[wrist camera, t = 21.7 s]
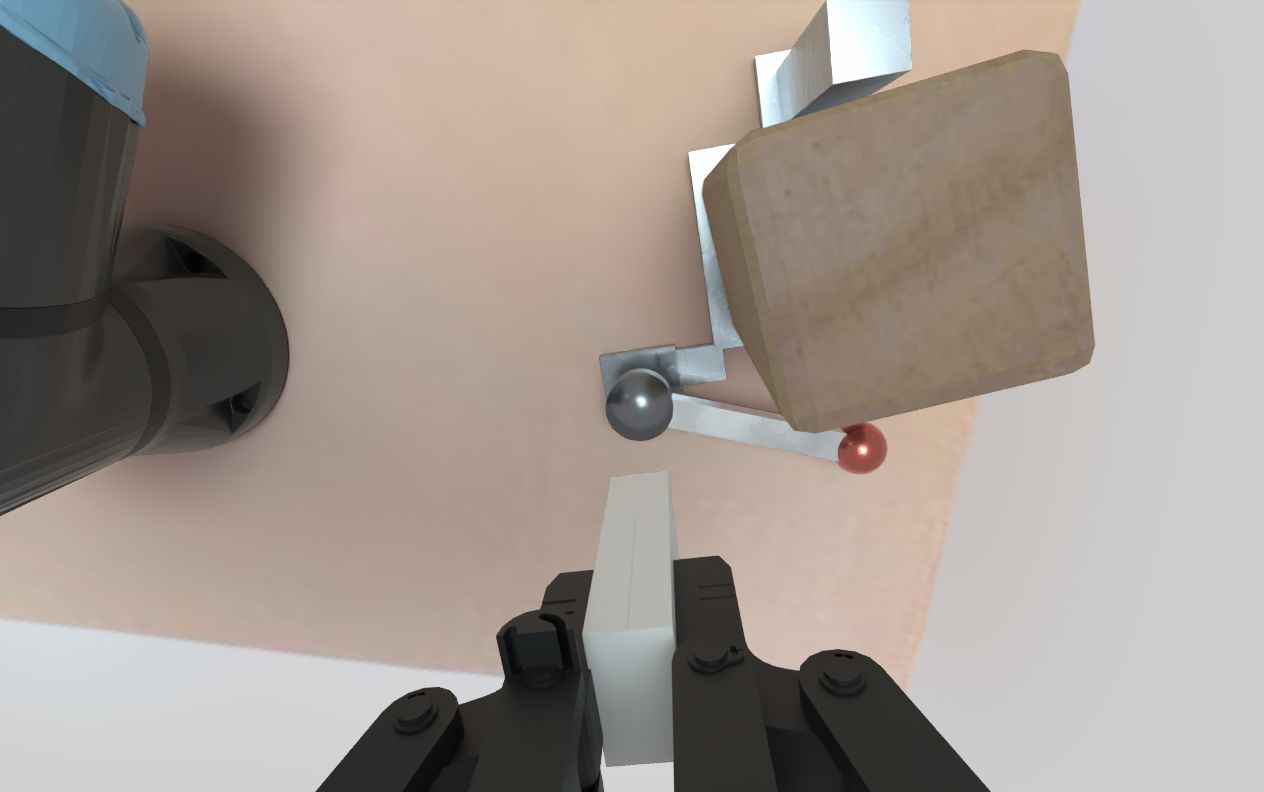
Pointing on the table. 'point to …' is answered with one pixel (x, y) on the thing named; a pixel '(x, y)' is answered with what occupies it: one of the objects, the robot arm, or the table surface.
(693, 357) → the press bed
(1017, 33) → the table surface
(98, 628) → the table surface
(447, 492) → the table surface
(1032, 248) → the wooden block
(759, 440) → the lever
